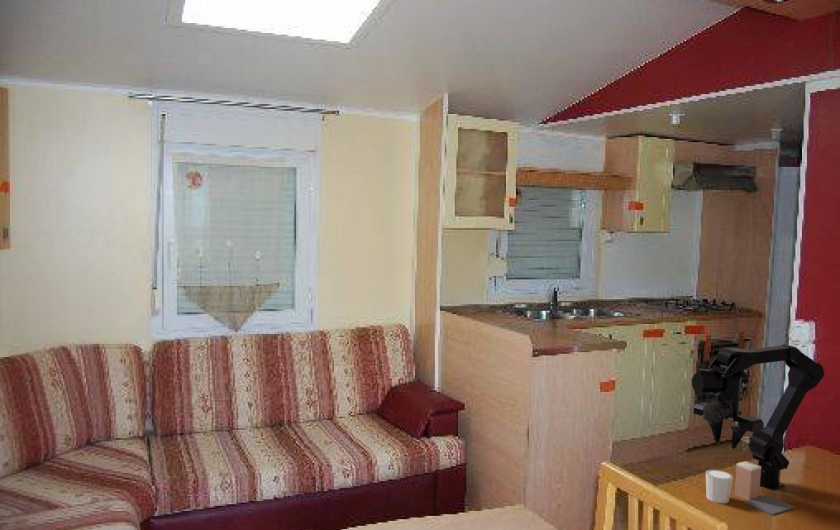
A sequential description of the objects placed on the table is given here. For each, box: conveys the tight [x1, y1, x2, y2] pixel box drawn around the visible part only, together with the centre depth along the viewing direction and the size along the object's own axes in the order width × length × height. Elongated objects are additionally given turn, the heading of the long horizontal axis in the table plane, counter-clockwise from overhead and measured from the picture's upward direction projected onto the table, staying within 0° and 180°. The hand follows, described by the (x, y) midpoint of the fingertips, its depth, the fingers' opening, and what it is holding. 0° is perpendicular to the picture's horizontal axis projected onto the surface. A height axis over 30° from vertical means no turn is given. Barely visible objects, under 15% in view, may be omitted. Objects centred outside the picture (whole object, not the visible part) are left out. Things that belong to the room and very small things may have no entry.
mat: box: [743, 494, 796, 516], centre depth 173 cm, size 10×8×1 cm
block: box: [734, 460, 761, 501], centre depth 178 cm, size 4×4×9 cm
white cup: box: [705, 469, 734, 504], centre depth 176 cm, size 7×7×7 cm
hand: (725, 445), depth 184 cm, fingers open, 5 cm apart
